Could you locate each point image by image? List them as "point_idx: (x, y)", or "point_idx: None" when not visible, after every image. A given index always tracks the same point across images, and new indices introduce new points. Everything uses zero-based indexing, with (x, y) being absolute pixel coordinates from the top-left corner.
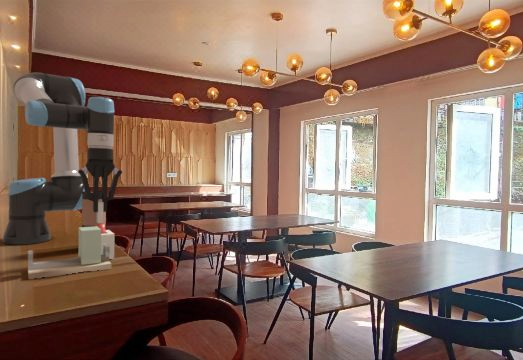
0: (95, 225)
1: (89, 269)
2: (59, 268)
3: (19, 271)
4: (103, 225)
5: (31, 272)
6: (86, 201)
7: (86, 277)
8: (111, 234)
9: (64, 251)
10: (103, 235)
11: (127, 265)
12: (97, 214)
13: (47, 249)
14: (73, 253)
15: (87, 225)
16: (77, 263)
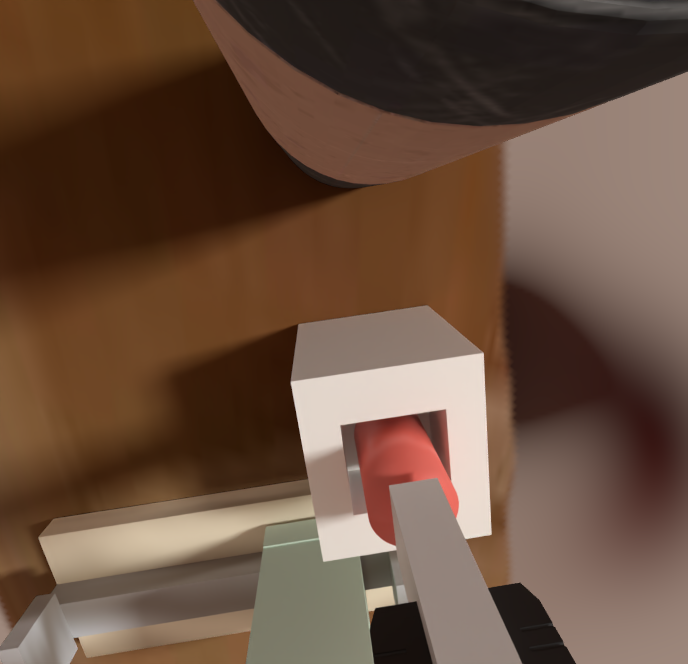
0: (371, 524)
1: None
2: (196, 619)
3: (20, 520)
4: None
5: (92, 644)
6: (246, 47)
7: None
8: (469, 536)
9: (156, 136)
10: None
11: (475, 551)
12: (411, 594)
13: (16, 10)
14: (222, 222)
15: (300, 160)
16: None
